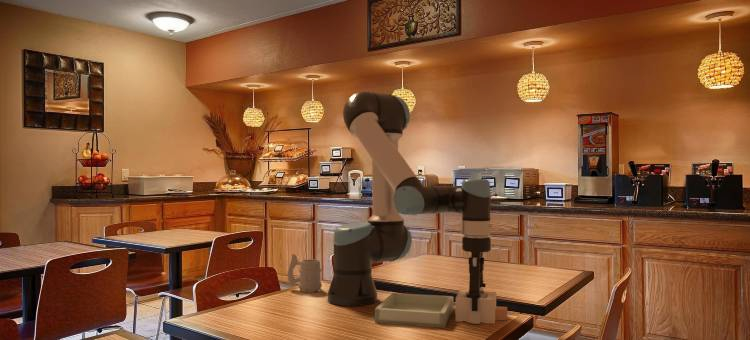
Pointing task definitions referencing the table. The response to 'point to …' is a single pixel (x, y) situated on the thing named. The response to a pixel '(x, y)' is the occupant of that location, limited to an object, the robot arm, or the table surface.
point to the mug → (306, 274)
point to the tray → (415, 310)
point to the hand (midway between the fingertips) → (476, 317)
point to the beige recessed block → (487, 308)
